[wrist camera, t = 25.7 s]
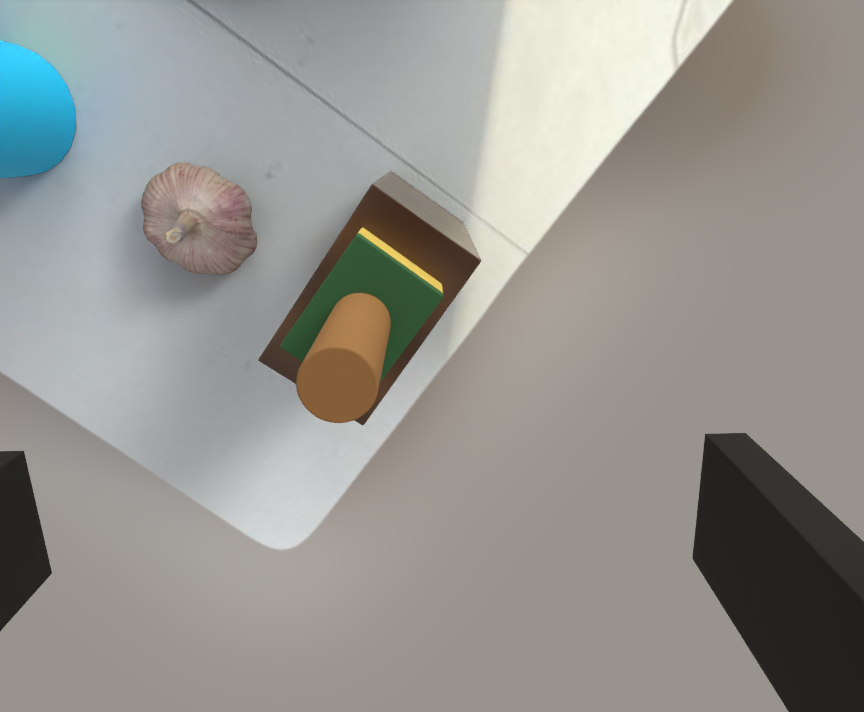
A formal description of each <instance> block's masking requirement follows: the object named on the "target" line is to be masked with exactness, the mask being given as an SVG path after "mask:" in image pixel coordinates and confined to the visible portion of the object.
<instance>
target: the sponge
mask: <svg viewBox="0 0 864 712" xmlns="http://www.w3.org/2000/svg"><path fill="white" fill-rule="evenodd" d="M443 297H444V296H443V288H442V284H441V283H440V282H439V281H437V280H436V279H434V278H433V277H432V276H430V275H429V274H427V273H426V272H425V271H423V270H422V269H420V268H419V267H418V266H416V265H415V264H413V263H412V262H411V261H409V260H408V259H406V258H405V257H404V256H402V255H401V254H400V253H398V252H397V251H395V250H394V249H393V248H391V247H390V246H388V245H387V244H386V243H384V242H383V241H381V240H380V239H379V238H377V237H376V236H374V235H373V234H372V233H370V232H369V231H367V230H366V229H365V228H361V229H360V230H359V232H358V233H357V234H356V236H355V237H354V238H353V240H352V241H351V243H350V244H349V246H348V247H347V249H346V250H345V252H344V253H343V254H342V256H341V257H340V259H339V260H338V262H337V263H336V265H335V266H334V268H333V269H332V270H331V272H330V273H329V275H328V276H327V278H326V279H325V281H324V282H323V284H322V285H321V286H320V288H319V289H318V291H317V292H316V294H315V295H314V297H313V298H312V300H311V301H310V302H309V304H308V305H307V307H306V308H305V310H304V311H303V313H302V314H301V316H300V317H299V318H298V320H297V321H296V323H295V324H294V326H293V327H292V329H291V330H290V332H289V333H288V334H287V336H286V337H285V339H284V340H283V342H282V343H281V345H280V347H281V348H282V349H284V350H285V351H287V352H288V353H290V354H291V355H293V356H294V357H296V358H297V359H299V360H300V361H302V364H301V366H300V368H299V370H298V374H297V379H296V387H297V392H298V395H299V398H300V400H301V402H302V403H303V405H304V406H305V407H306V409H307V410H308V411H310V412H311V413H312V414H313V415H315V416H316V417H318V418H320V419H322V420H325V421H328V422H333V423H344V422H349V421H353V420H356V419H358V418H360V417H361V416H363V415H364V414H365V413H366V412H368V410H369V409H370V408H371V407H372V405H373V404H374V402H375V400H376V397H377V394H378V389H379V384H380V382H381V381H382V379H383V378H384V377H385V375H386V374H387V373H388V371H389V370H390V368H391V367H392V366H393V364H394V363H395V362H396V360H397V359H398V358H399V356H400V355H401V354H402V352H403V351H404V350H405V348H406V347H407V346H408V344H409V343H410V342H411V340H412V339H413V338H414V336H415V335H416V334H417V332H418V331H419V330H420V328H421V327H422V326H423V324H424V323H425V322H426V320H427V319H428V318H429V316H430V315H431V314H432V312H433V311H434V310H435V308H436V307H437V305H438V304H439V303H440V301H441V300H442V299H443Z"/></svg>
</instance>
